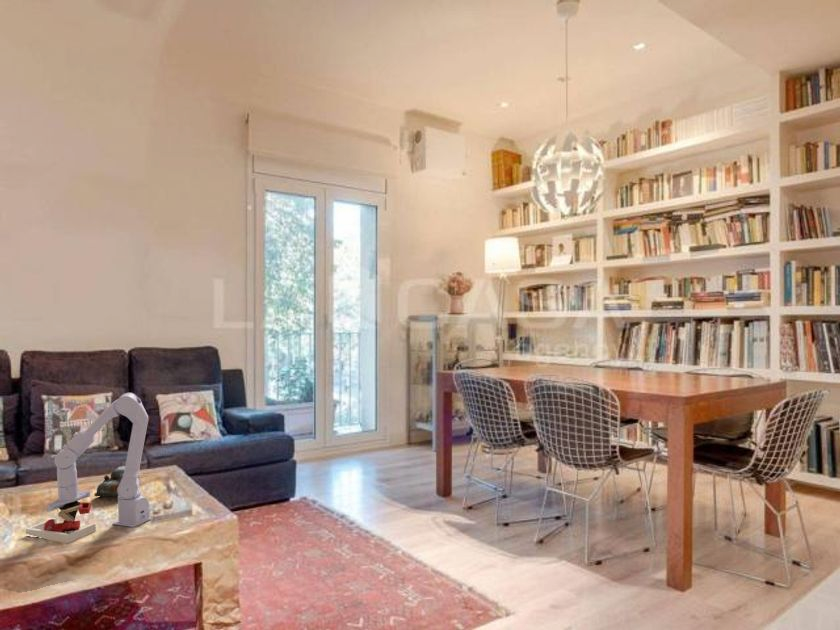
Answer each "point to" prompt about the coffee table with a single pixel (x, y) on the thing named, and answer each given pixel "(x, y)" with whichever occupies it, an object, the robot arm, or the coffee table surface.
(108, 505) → the coffee table surface
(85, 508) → the toy fire truck
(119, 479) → the dark grey lumpy shape
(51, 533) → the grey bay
